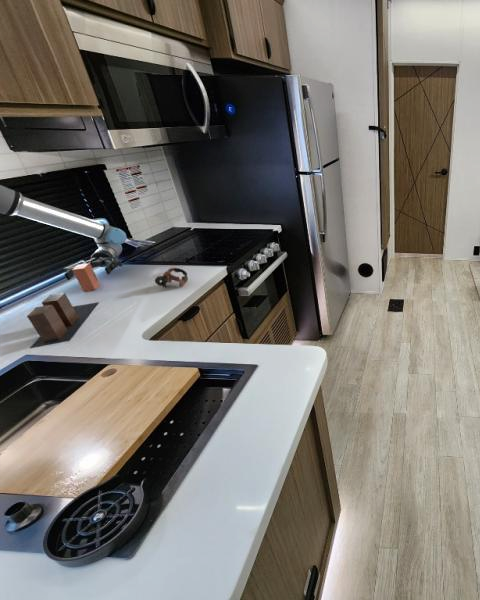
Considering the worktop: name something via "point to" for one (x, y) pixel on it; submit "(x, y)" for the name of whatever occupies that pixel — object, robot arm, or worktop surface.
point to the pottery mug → (171, 277)
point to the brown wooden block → (62, 308)
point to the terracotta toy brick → (86, 277)
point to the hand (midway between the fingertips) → (87, 274)
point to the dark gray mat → (83, 314)
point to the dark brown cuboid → (47, 323)
